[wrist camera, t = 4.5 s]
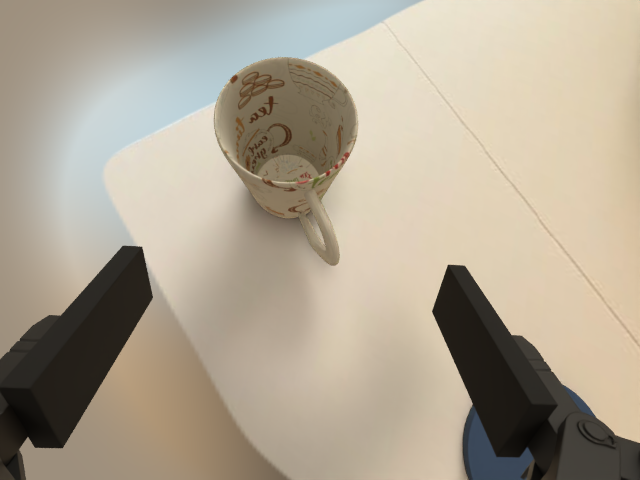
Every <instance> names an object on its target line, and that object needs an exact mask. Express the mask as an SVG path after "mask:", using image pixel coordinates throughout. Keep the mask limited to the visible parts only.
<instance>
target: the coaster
mask: <svg viewBox="0 0 640 480" xmlns="http://www.w3.org/2000/svg"><path fill="white" fill-rule="evenodd" d="M563 387H564V388H565V389H566V391H567V392H568V394H569V395H570V396H571V398H572V399H573V401H574V402H575V403H576V405H577V406H578V408H579V409H580V410H581V411H582V412H584V413H587V414H589V415H591V416H594V417H595V415H594V414H593V412H592V411H591V410H590V408H589V407H588V406H587V405H586V403H585V402H584V401H583V400H582V399H581V398H580V397H579V396H578V395H576V394H575V393H574V392H573V391H571V390H570V389H569V388H567V387H566V386H564V385H563ZM595 418H596V417H595ZM463 454H464V462H465V467H466V471H467V475H468V478H469V480H523V479H522V478H520V477H521V475H522V474H523V472H524V471H525V470H526V468H527V467H528V466H529V464H530V463H531V462H532V461H533V459H534V458H533V456H532V454H531V452H530V451H529V449H528V447H527V448H526V450H525V451H524V452H523V454H522V455H521V457H520V458H515V457H496V455H495V452H494V450H493V448H492V446H491V443H490V441H489V439H488V437H487V434H486V432H485V430H484V428H483V425H482V423H481V421H480V419H479V416H478V414H477V412H476V409H475V407H474V405H473V406H472V408H471V410H470V413H469V415H468V418H467V421H466V425H465V429H464V437H463ZM526 479H527V477H526V478H525V479H524V480H526Z"/></svg>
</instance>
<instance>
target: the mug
mask: <svg viewBox="0 0 640 480" xmlns="http://www.w3.org/2000/svg"><path fill="white" fill-rule="evenodd" d="M214 129H215V134H216V137H217V141H218V143H219V146H220V148H221V150H222V152H223V153H224V155H225V157H226V159H227V160H228V162H229V163H230V164H231V166H232V167H233V169H234V170H235V171H236V173H237V174H238V175H239V177H240V178H241V180H242V181H243V182H244V184H245V185H246V187H247V188H248V189H249V191H250V192H251V194H252V195H253V196H254V198H255V199H256V201H257V202H258V203H259V204H260V206H261V207H262V208H263V209H264V210H266V211H267V212H269V213H270V214H272V215H274V216H277V217H281V218H296V217H299V219H300V221H301V224H302V226H303V229H304V231H305V233H306V236H307V238H308V240H309V243H310V244H311V246H312V247H313V249H314V250H315V251H316V252H317V253H318V254H319V256H320V257H321V258H322V259H323V260H324V261H325V262H327V263H328V264H329V265H332V266H335V265H337V264H338V262H339V258H340V254H339V247H338V243H337V239H336V235H335V232H334V229H333V226H332V224H331V221H330V219H329V217H328V215H327V213H326V211H325V209H324V207H323V205H322V203H321V201H320V200H321V199H322V197H323V196H324V194H325V193H326V191H327V189H328V188H329V186H330V185H331V183H332V182H333V180H334V179H335V177H336V176H337V174H338V173H339V171H340V170H341V168H342V167H343V165H344V164H345V162H346V161H347V159H348V157H349V155H350V153H351V151H352V149H353V147H354V144H355V141H356V137H357V132H358V115H357V110H356V107H355V103H354V101H353V99H352V97H351V94H350V93H349V91H348V90H347V88H346V87H345V86H344V84H343V83H342V82H341V81H340V80H339V79H338V78H337V77H336V76H335V75H333V74H332V73H331V72H330V71H328V70H326V69H325V68H323V67H321V66H319V65H317V64H315V63H312V62H309V61H306V60H302V59H297V58H288V57H278V58H270V59H265V60H262V61H258V62H256V63H253V64H251V65H249V66H247V67H245V68H243V69H242V70H240V71H239V72H238V73H236V74H235V75H234V76H233V77H232V78H231V79H230V80H229V81H228V82H227V84H226V85H225V86H224V88H223V89H222V91H221V93H220V95H219V97H218V99H217V102H216V106H215V111H214ZM311 210H312V212H313V214H314V216H315V218H316V221H317V223H318V225H319V227H320V230H321V232H322V235H323V238H324V242H325V245H326V246H325V245H324V244H323V243H322V242H321V240H320V238H319V237H318V235H317V233H316V232H315V230H314V228H313V227H312V225H311V223H310V221H309V220H308V218H307V216H306V215H305V214H307V213H309V212H310V211H311Z"/></svg>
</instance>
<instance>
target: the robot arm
mask: <svg viewBox="0 0 640 480" xmlns="http://www.w3.org/2000/svg"><path fill="white" fill-rule="evenodd" d="M152 298H153V296H152V291H151V286H150V282H149V277H148V272H147V268H146V263H145V258H144V253H143V249H142V247H137V246H122V247H121V249H120V250H119V251H118V252H117V253H116V254H115V255H114V257H113V258H112V259H111V260H110V261H109V262H108V263H107V264H106V266H105V267H104V268H103V269H102V270H101V271H100V272H99V274H97V276H96V277H95V278H94V279H93V280H92V281H91V282H90V283H89V285H88V286H87V287H86V288H85V289H84V290H83V291H82V292H81V294H80V295H79V296H78V297H77V298H76V299H75V300H74V301H73V303H72V304H71V305H70V306H69V307H68V308H67V309H66V310H65V312H64V313H63V314H62V315H61V316H55V315H49V316H47V317H46V318H44V319H42V320H41V321H39V322H38V323H36V324H35V325H33V326H32V327H31V328H30V329H29V330H28V331H27V332H26V333H25V334H24V335H23V336H22V337H21V338H20V341H18V342H16V344H15V345H14V346H13V347H12V348H11V349H10V351H9V352H7V353H6V354H5V355H4V356H3V357H2V358H1V359H0V480H26V477H25V470H24V464H23V458H22V454H21V453H20V451H19V448H20V447H21V446H22V444H23V443H24V441H25V440H26V438H27V437H29V439H30V440H31V442H32V444H33V445H34V447H35V448H63V447H64V445H65V443H66V442H67V440H68V438H69V437H70V435H71V433H72V432H73V430H74V429H75V427H76V425H77V423H78V422H79V420H80V419H81V417H82V415H83V413H84V412H85V410H86V409H87V407H88V405H89V403H90V402H91V400H92V398H93V397H94V395H95V393H96V392H97V390H98V388H99V387H100V385H101V383H102V382H103V380H104V378H105V377H106V375H107V373H108V371H109V370H110V368H111V367H112V365H113V363H114V362H115V360H116V358H117V357H118V355H119V353H120V352H121V350H122V348H123V347H124V345H125V343H126V342H127V340H128V338H129V337H130V335H131V333H132V332H133V330H134V328H135V327H136V325H137V323H138V322H139V320H140V318H141V317H142V315H143V313H144V312H145V310H146V308H147V307H148V305H149V303H150V302H151V300H152ZM432 312H433V315H434V317H435V319H436V321H437V324H438V326H439V328H440V330H441V333H442V335H443V337H444V339H445V342H446V344H447V346H448V348H449V351H450V353H451V355H452V357H453V360H454V362H455V364H456V367H457V369H458V371H459V373H460V376H461V378H462V380H463V382H464V385H465V387H466V389H467V391H468V394H469V396H470V398H471V400H472V403H473V405H474V407H475V409H476V412H477V414H478V416H479V419H480V421H481V423H482V425H483V428H484V430H485V432H486V434H487V437H488V439H489V441H490V443H491V446H492V448H493V450H494V452H495V455H496V457H515V458H520V457H521V455H522V454H523V452H524V451H525V450H526V448H527V447H528V449H529V451H530V452H531V454H532V456H533V458H534V459H533V461H532V462H531V463H530V464H529V466H528V467H527V468H526V470H525V471H524V472H523V474H522V475H521V477H520V478H522V479H523V480H524V479H525V478H526V477H527V479H526V480H640V443H637V442H634V441H631V440H628V439H625V438H622V437H618V436H616V435H615V434H614V433H613V431H612V430H611V429H610V428H608V427H607V426H606V425H605V424H604V423H603V422H601V421H600V420H598V419H597V418H595V417H594V416H591V415H589V414H587V413H584V412H582V411H581V410H580V409H579V408H578V406H577V405H576V403H575V402H574V401H573V399H572V398H571V396H570V395H569V394H568V392H567V391H566V389H565V388H564V387H563V385H562V384H561V383H560V381H559V380H558V378H557V377H556V376H555V374H554V373H553V372H551V369H550V367H549V366H548V365H547V363H546V362H544V359H543V358H542V356H541V355H540V353H539V352H538V351H537V349H536V348H535V347H534V346H533V345H532V344H531V343H530V342H528V341H527V340H526V339H525V338H524V337H522V336H516V335H511V334H510V332H509V331H508V329H507V328H506V326H505V325H504V323H503V322H502V320H501V319H500V317H499V316H498V314H497V313H496V311H495V310H494V308H493V307H492V305H491V304H490V302H489V301H488V300H487V298H486V297H485V295H484V294H483V292H482V291H481V289H480V288H479V286H478V285H477V283H476V282H475V280H474V279H473V277H472V276H471V274H470V273H469V271H468V270H467V268H466V267H465V266H460V265H448V267H447V269H446V272H445V275H444V278H443V281H442V284H441V287H440V290H439V293H438V296H437V299H436V302H435V305H434V307H433V310H432Z"/></svg>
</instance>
